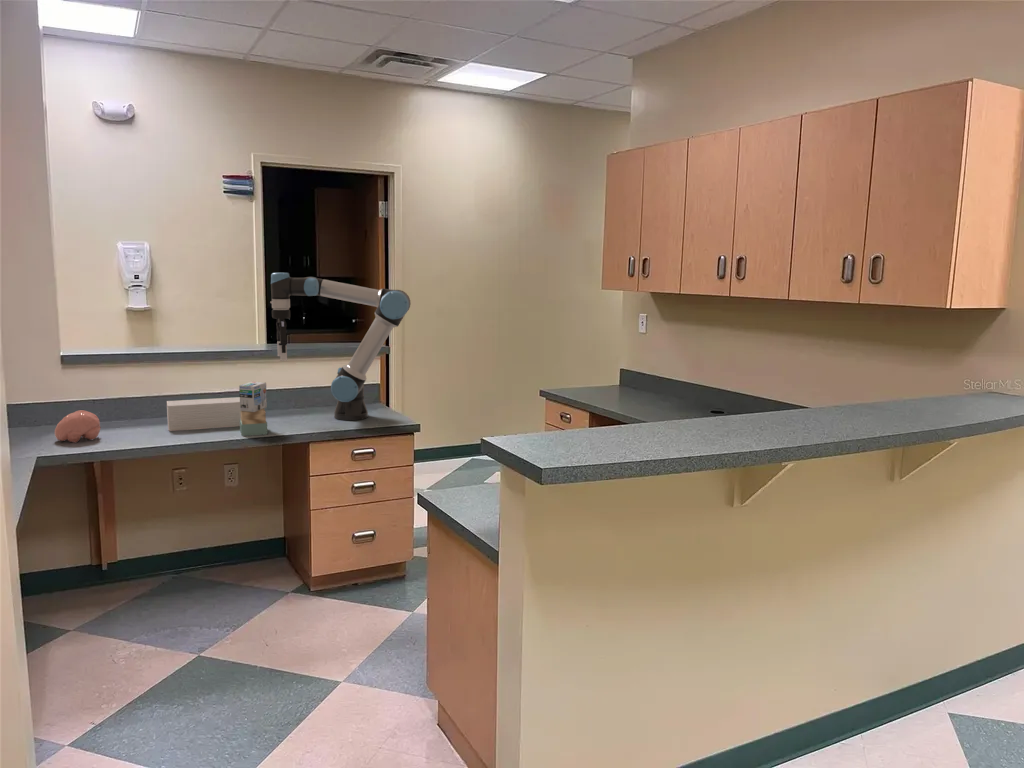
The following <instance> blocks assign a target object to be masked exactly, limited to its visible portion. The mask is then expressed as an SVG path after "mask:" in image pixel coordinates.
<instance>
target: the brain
mask: <svg viewBox="0 0 1024 768" xmlns="http://www.w3.org/2000/svg"><path fill="white" fill-rule="evenodd" d="M100 432H101V422H100V419H99V417H98V416H97V415H96V414H95V413H93V412H90V411H87V410H81V409H79V410H76V411H74V412H71V413H68V414H67V415H66V416H64V417H63V418H62V419H61V420H60V421H59V422H58V423H57V425H56V427H55V429H54V437H55V438H56V440H57V441H61V442H65V441H68V442H71V443H78V442H79V441H80V439H81V438H84V439H86V440H88V441H89V440H95V439H96V438H97V437H99V434H100Z"/></svg>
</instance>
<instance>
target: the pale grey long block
mask: <svg viewBox="0 0 1024 768" xmlns="http://www.w3.org/2000/svg"><path fill="white" fill-rule="evenodd" d="M166 415H167V416H166V417H167V429H168V432H174V431H189V430H190V431H191V430H200V429H201V430H202V429H203V430H204V429H215V428H216V429H217V428H218V429H219V428H233V427H234V428H235V427H240V419H241V411H240V396H238V397H237V396H236V397H235V396H234V397H222V398H221V397H218V398H216V397H215V398H201V399H199V398H198V399H182V400H181V399H179V400H166Z"/></svg>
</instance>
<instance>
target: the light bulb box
mask: <svg viewBox="0 0 1024 768" xmlns="http://www.w3.org/2000/svg"><path fill="white" fill-rule="evenodd" d="M238 387H239V389H238V390H239V391H238V392H239V397H240V411H247V412H256V411H259V410H261V409H267V408H268V407H267V406H268V405H267V402H268V401H267V400H268V399H267V382H260V381H254V380H253V381H252V380H251V381H249V382H246V383H244V384H240V385H239V386H238Z"/></svg>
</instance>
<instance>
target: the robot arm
mask: <svg viewBox="0 0 1024 768" xmlns="http://www.w3.org/2000/svg"><path fill="white" fill-rule="evenodd" d="M270 291H271V292H270V293H271V301H270V302H269V303H270V304H271V309H272V310H271V317H272V319H276V323H275V325H276V341H277V342H276V344H277V357H279V360H280V362H281V361H287V360H288V346H287V345H288V337H287V336H288V335H287V322H286V320H287V319H290V318H291V310H290V308H291V299H290V296H300V297H301V296H304V297H305V296H307V297H313V296H314V297H315V296H319V297H325V298H329V299H336V300H341V301H345V302H351V303H356V304H362V305H367V306H371V307H376V309H375V310H374V317H375V318H374V319H373V321H372V323H371V325H370V326H369V329H368V330H367V332H366V333H365V335H364V337H363V338H362V340H361V342H359V345H358V347H357V349H356V350H355V351H354V353H353V355H352V356H351V359H350V360H349V361H348V364H345V365H342V367H339V368H338V369H337V373H336V374H337V375H336V376H335V378H334V379H333V380H332V382H331V384H330V392H331V395H332V396H333V398H334V399H335V400H337V403H336V405H335V406H336V407H335V409H334V413H333V415H334V416H333V417H334V418H335V419H337V420H341V421H361V420H364V419H367V418H368V416H369V412H368V409H367V405H366V403H365V382H366V381H367V376H366V374H367V373H368V371H369V369H370V367H371V365H372V364H373V362H374V360H375V359H376V358H377V356H378V354H379V352H381V349H382V347H383V345H384V344H385V343H386V340H387V339H388V337H389V336H390V334H391V332H392V331H393V328H397V327H399V326H400V324H401V322H402V321H403V319H404V317H405V315H406V314H407V313H408V311H409V310H410V308H411V299H410V296H409V295H408V294H407V292H405V291H403V290H401V289H389V288H380V289H377V288H369V287H366V286H360V285H355V284H350V283H346V282H338V281H335V280H329V279H325V278H324V279H322V278H318V277H315V276H306V277H292V276H290V273H289V272H272V273H271V274H270Z"/></svg>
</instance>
